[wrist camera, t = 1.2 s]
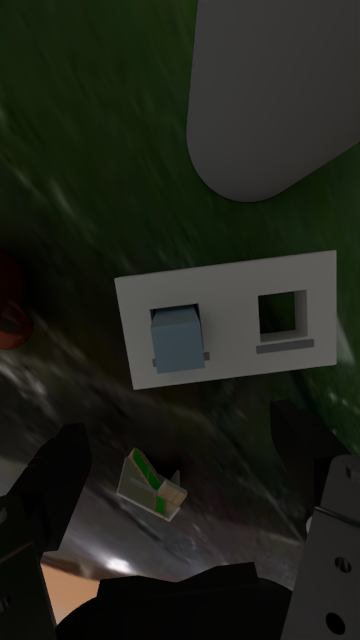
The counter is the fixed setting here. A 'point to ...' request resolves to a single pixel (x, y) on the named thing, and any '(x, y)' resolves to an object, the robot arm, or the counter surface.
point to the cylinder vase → (272, 92)
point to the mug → (13, 302)
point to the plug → (177, 342)
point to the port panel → (235, 315)
